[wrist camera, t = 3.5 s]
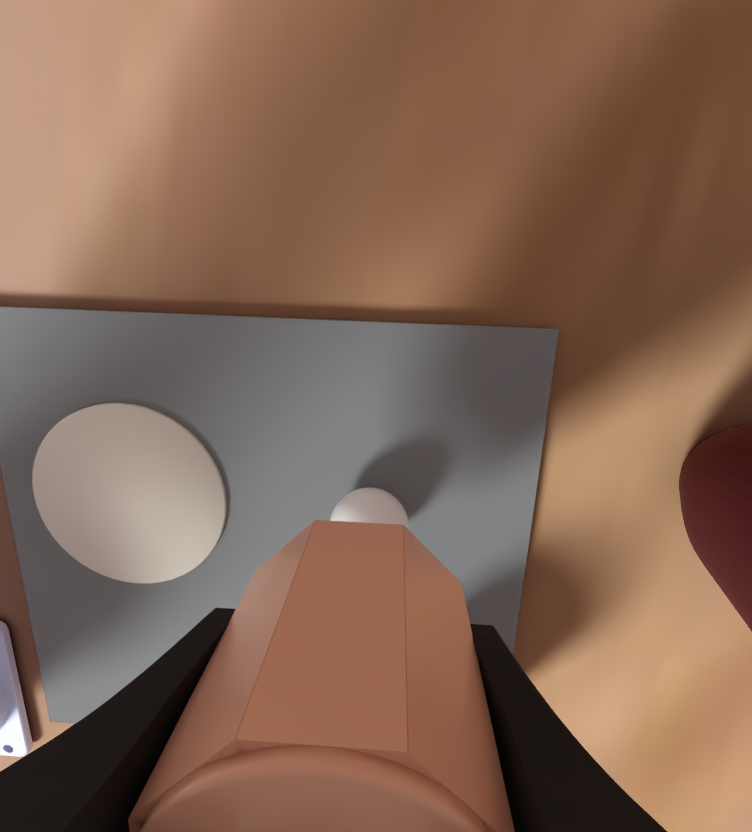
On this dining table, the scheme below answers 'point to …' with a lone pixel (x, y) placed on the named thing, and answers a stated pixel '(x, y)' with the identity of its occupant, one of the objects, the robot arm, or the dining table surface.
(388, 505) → the marble
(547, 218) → the dining table surface
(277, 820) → the tan piece
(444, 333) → the mat
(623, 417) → the dining table surface
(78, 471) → the pad
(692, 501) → the mug
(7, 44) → the dining table surface
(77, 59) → the dining table surface
